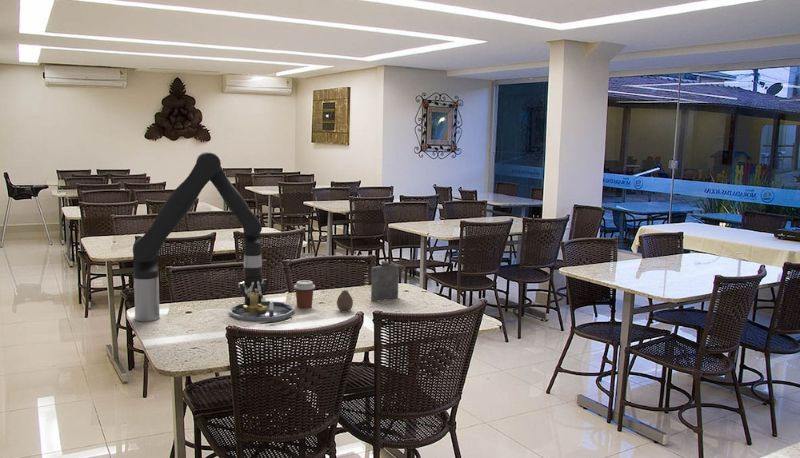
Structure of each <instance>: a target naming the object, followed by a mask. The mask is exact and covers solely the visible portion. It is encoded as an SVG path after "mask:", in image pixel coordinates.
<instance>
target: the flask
mask: <svg viewBox="0 0 800 458" xmlns="http://www.w3.org/2000/svg"><path fill="white" fill-rule="evenodd" d="M399 270H400V266H399V264H389V260H382V261H381V265H377V266H372V267H371V281H370V282H371V284H370V287H371V292H370V293H371V294H370V295H371V296H370V302H374V301H375V302H379V301H378V300H380V301H385V300H384V299H387V300H394V299H393V298H397V299H399V276H400V275H399V272H400V271H399Z"/></svg>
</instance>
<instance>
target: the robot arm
mask: <svg viewBox="0 0 800 458" xmlns="http://www.w3.org/2000/svg"><path fill="white" fill-rule="evenodd" d="M195 162H196V163H195V164H194V165H193V168H192V169H191V172H190V173H189V174H188V176H187V177H186V178H185V179H184V180H183V181H182V183H180V184H179V185H178V186H177V187H176V189H174V190H173V192H171V194H170V195H169V196H168V198H167V199H166V200H165V202H164V203H163V205H162V206H161V207H160V210H159V211H158V213H157V214H156V217H155V219H154V221H153V223H152V224H151V226H150V227H149V228H148V230H147V231H146V232H145V233H144V234H143V235H142V236H141V237H138V238H137V239H136V240H135V241H134V243H133V245H132V254H133V256H132V257H133V259H132V260H133V291H134V295H133V296H134V320H135V321H137V322H154V321H157V320H159V319H160V285H159V283H160V282H159V280H160V279H159V251H160V250H161V248H162V246H163V245H164V243H165V241H166V240H167V238H168V237H169V235H171V233H172V232H173V231H174V230H175V229H176V227H177V226H178V225H179V224H180V223H181V221H182V220H183V219H184V218H185V217H186V215H187V213H188V212H189V211H190V210H191V208H192V207H193V205H194V204H195V202H196V200H197V199H198V197H199V196H200V194H201V192H202V190H203V189H204V187H205V186H206V185H207V184H208V183H209V181H210V182H211V183H212V185H213V187H215V189H216V190H217V192H218V193H219V195H220V196H221V198H222V199H223V200H222V201H224V203H225V204H226V206H227V207H228V209H229V211H230V212H231V213H232V215H233V217H235V218H236V219H237V220H238V222H239V223H240V225H241V227H242V228H243V240H244V243H243V244H244V245H243V246H244V247H243V251H244V253H243V277H244V279H243V281H242V282H237V288H238V292H239V294H240V296H241V297H244V303H245V304H246V305H247V306H250V293H251V292H252V289H255V291H256V293H258V294H259V304H260V302H261V301H262V298H261V295H262V294H265V293H266V291H267V288H268V287H267V286H268V282H269V280H268V279H266V278H263V259H262V242H261V232H262V230H263V226H262V223H261V222H260V220H259V219H258V218H257V216H256V215H255V213H254V212H253V211H252V210H251V209H250V206H249V205H248V203H247V201H246V200H245V199H244V198H243V196H242V194H241V193H240V192H239V191H238V189H236V187H235V186H234V184H232V182H231V180H229V178H228V176H227V175H226V173H225V172H224V169H223V168H222V166H221V164H222V162H221V159H220V157H219V156H218V155H217V154H216V153H213V152H211V151H210V152H209V151H205V152H202V153H200V154H199V155H198V156H197V158H196V161H195ZM261 276H262V277H261ZM261 283H262V285H261V287H260V284H261Z"/></svg>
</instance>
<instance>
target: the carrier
mask: <svg viewBox="0 0 800 458" xmlns="http://www.w3.org/2000/svg"><path fill="white" fill-rule="evenodd" d="M260 304H262V306H258V307H257V311H245V310H244V309H243V305H246V304H245V302H242V303H237V304H236V305H234V306H232V307H230V308H229V317H232V318H234V319H237V320H238V321H239V320H240V321H247V322H260V323H258V325H268V324H269V325H270V324H277V323H282V322H285V321H288V320H290V319H291V318H293V316H292V315H294V314H295V308H294V306H293V304H292V305H291V304H290V303H286V302H284V301H282V302H281V301H273V300H261V302H260Z"/></svg>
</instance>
